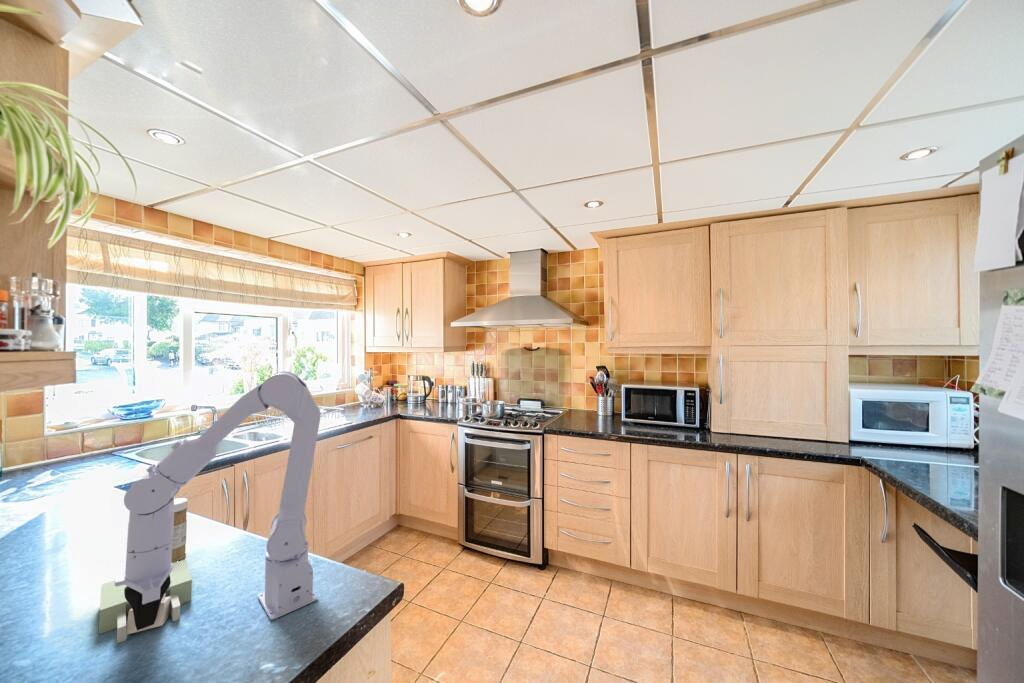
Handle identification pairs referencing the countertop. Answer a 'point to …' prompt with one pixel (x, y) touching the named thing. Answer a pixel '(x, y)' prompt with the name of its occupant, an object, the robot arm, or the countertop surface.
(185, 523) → the sprinkles bottle
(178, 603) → the deck
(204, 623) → the countertop surface
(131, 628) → the cream small block
